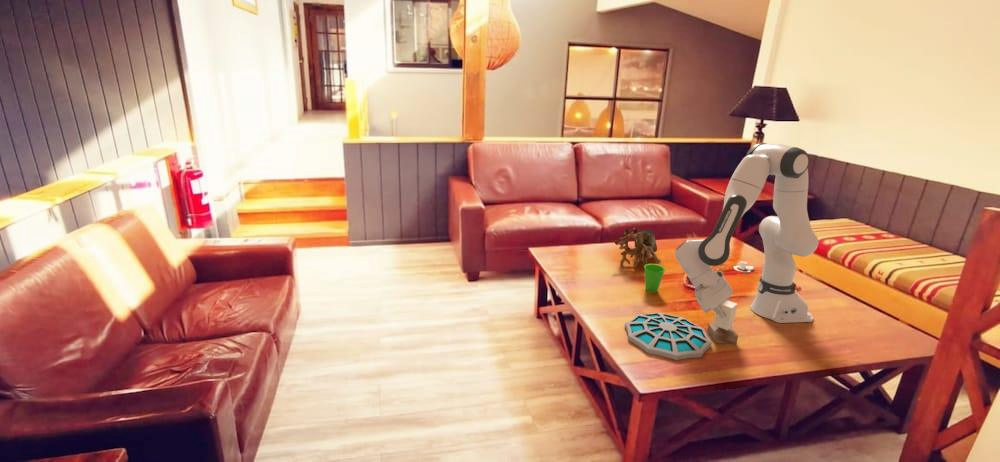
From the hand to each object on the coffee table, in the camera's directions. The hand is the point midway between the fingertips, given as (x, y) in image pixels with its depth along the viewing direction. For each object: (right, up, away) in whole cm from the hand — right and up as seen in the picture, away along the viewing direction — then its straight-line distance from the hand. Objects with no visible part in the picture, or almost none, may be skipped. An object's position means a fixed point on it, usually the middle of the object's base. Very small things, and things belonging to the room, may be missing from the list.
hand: (727, 314), depth 176 cm
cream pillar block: (-1, -4, +2) cm, 5 cm away
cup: (-15, +4, +40) cm, 43 cm away
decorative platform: (-21, -10, +4) cm, 23 cm away
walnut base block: (-1, -9, +4) cm, 10 cm away
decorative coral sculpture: (-14, +14, +72) cm, 75 cm away
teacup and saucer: (+40, +10, +63) cm, 75 cm away
